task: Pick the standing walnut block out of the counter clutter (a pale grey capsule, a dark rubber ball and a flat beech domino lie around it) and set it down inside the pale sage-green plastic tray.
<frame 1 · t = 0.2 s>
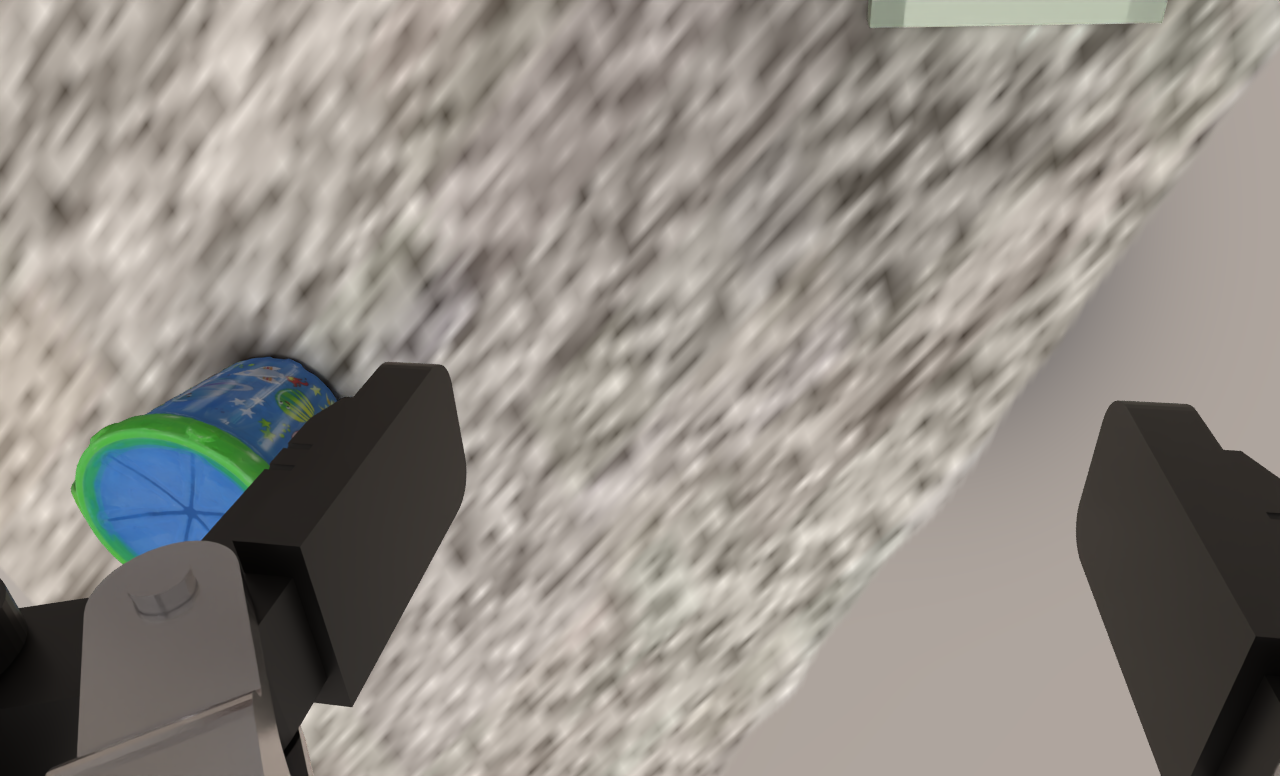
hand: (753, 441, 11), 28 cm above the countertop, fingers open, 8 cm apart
snack cup: (291, 407, 49), on the countertop
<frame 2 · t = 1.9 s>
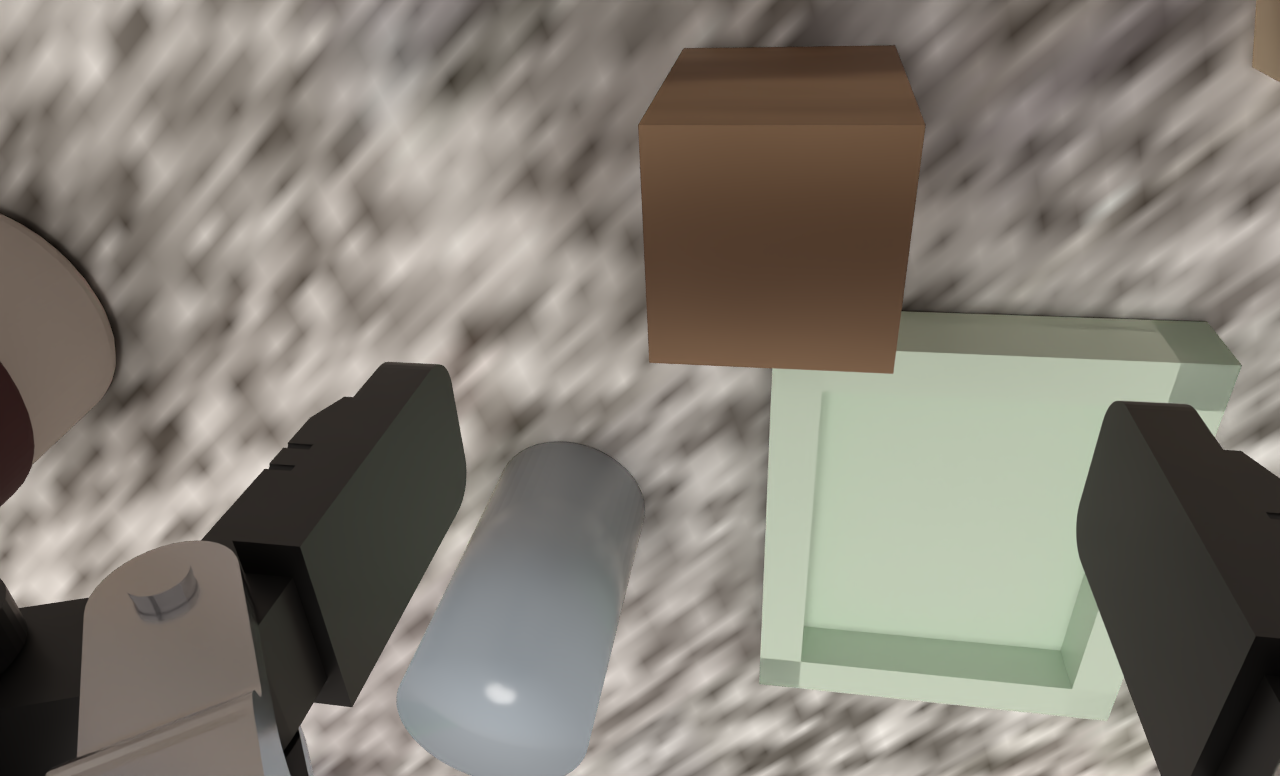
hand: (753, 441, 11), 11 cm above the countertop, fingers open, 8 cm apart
coffee cup: (15, 306, 27), on the countertop
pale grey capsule: (571, 502, 27), on the countertop
walnut block: (782, 149, 20), on the countertop
sage tray: (947, 503, 24), on the countertop
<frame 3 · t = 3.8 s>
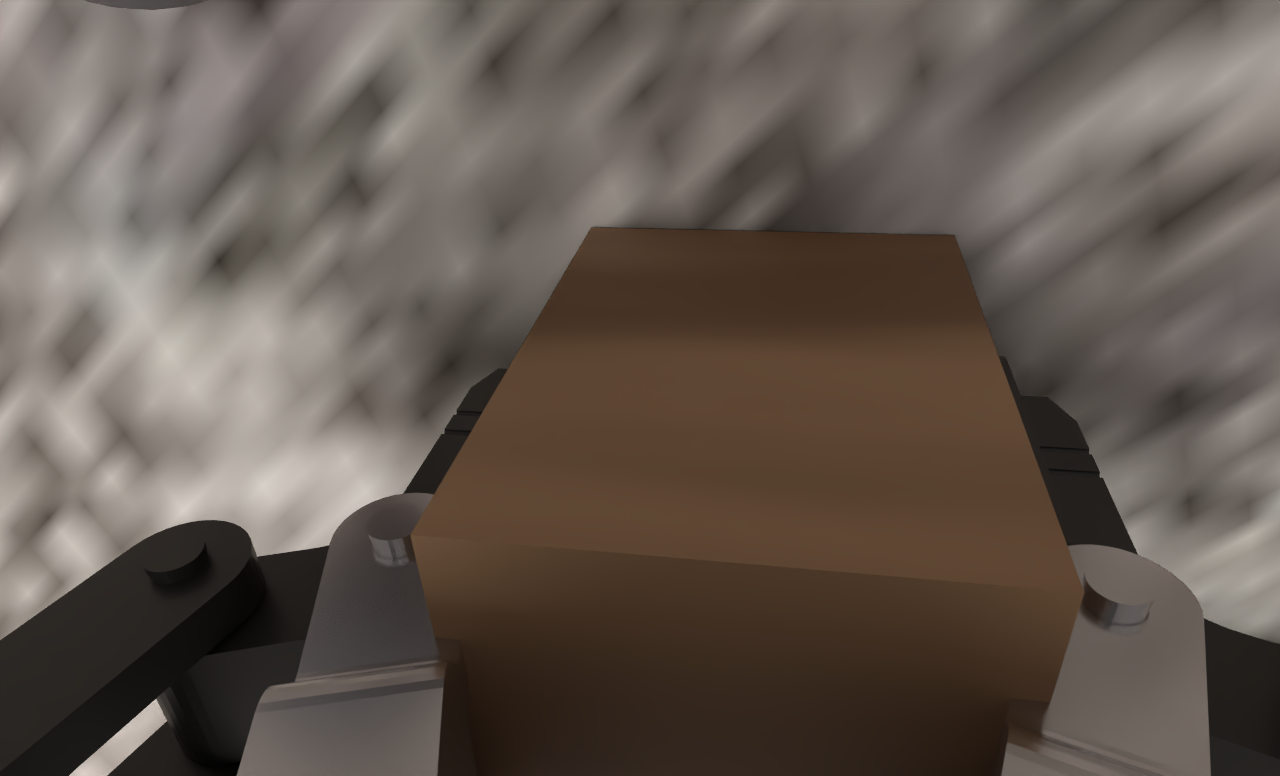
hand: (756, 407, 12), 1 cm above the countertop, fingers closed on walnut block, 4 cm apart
walnut block: (761, 384, 12), on the countertop, touching gripper
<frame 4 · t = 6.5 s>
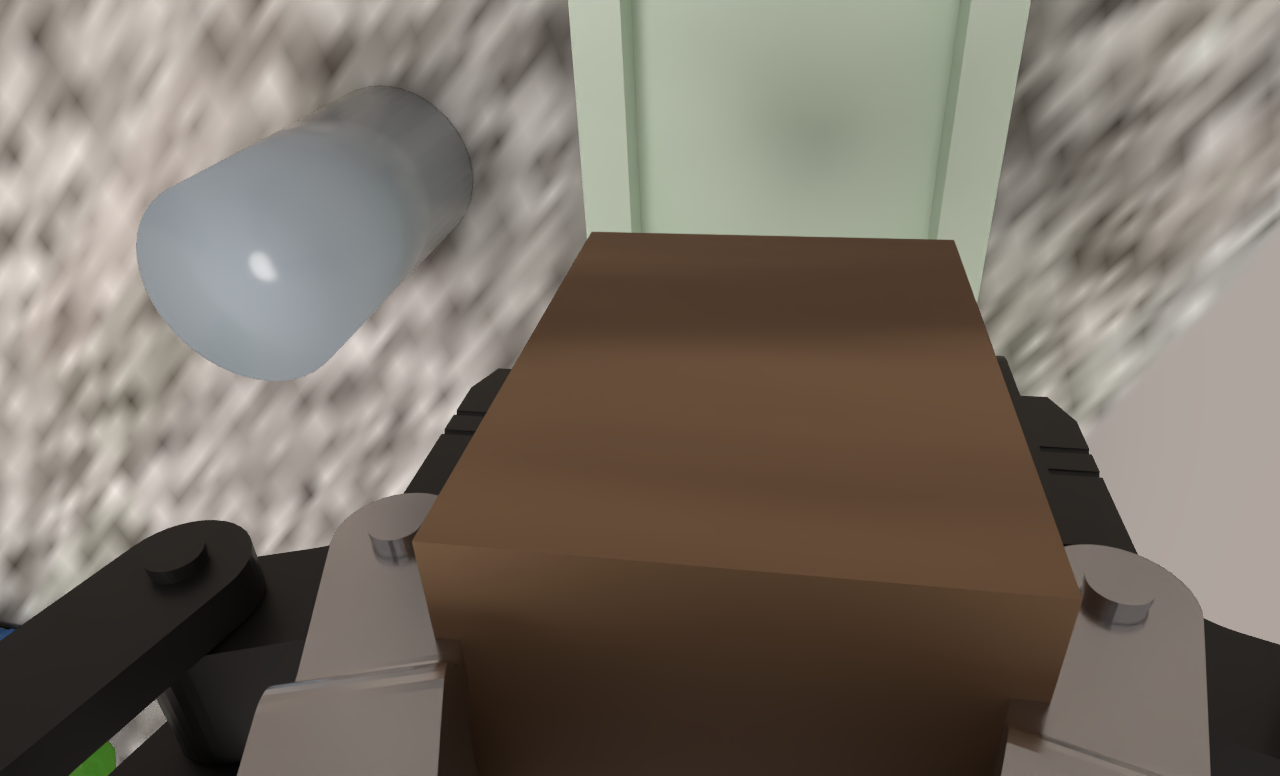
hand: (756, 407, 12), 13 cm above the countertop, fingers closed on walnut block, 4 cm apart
snack cup: (31, 669, 42), on the countertop
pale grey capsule: (395, 168, 25), on the countertop
walnut block: (761, 388, 12), point 12 cm above the countertop, touching gripper
sage tray: (785, 135, 22), on the countertop
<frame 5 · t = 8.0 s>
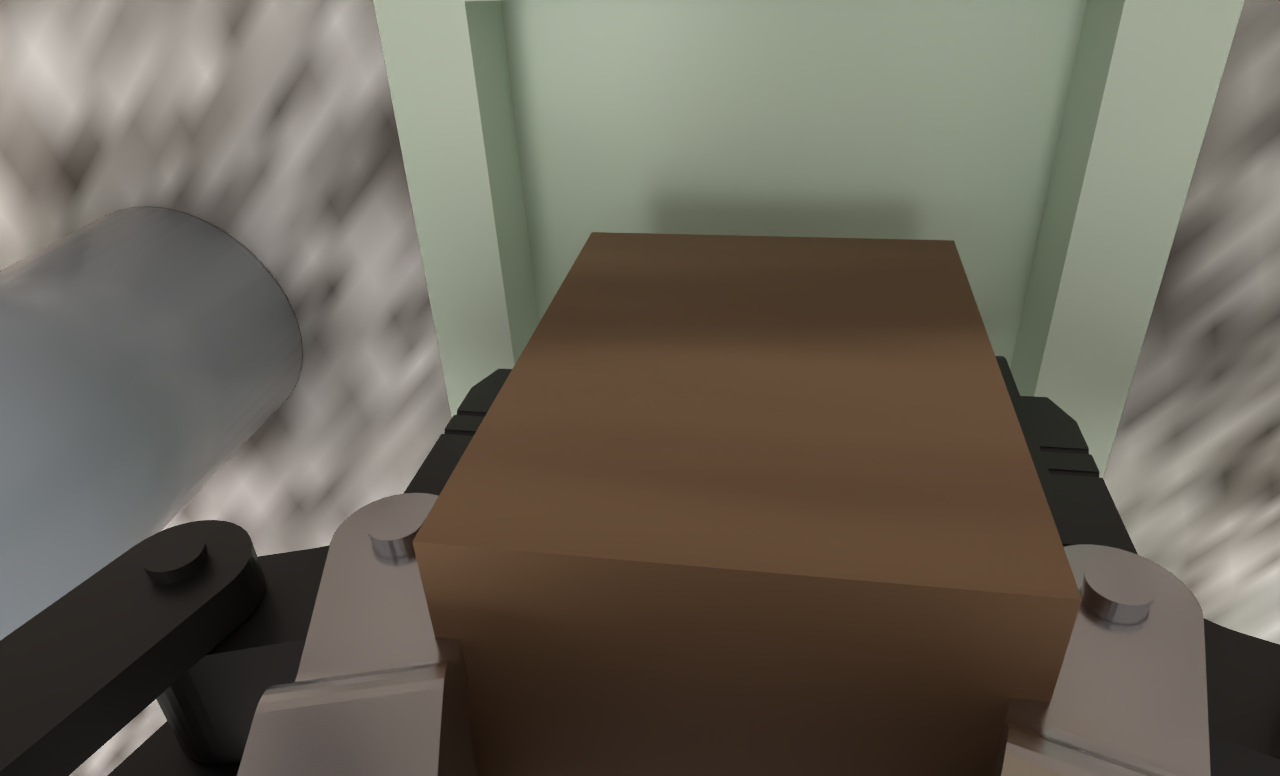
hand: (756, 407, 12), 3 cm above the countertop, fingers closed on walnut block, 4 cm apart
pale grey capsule: (188, 321, 17), on the countertop
walnut block: (761, 388, 12), point 3 cm above the countertop, touching gripper
sage tray: (768, 294, 14), on the countertop
when the fingers open (2 cm above the countertop, at t = 9.1 s): walnut block drops 1 cm, resting on sage tray.
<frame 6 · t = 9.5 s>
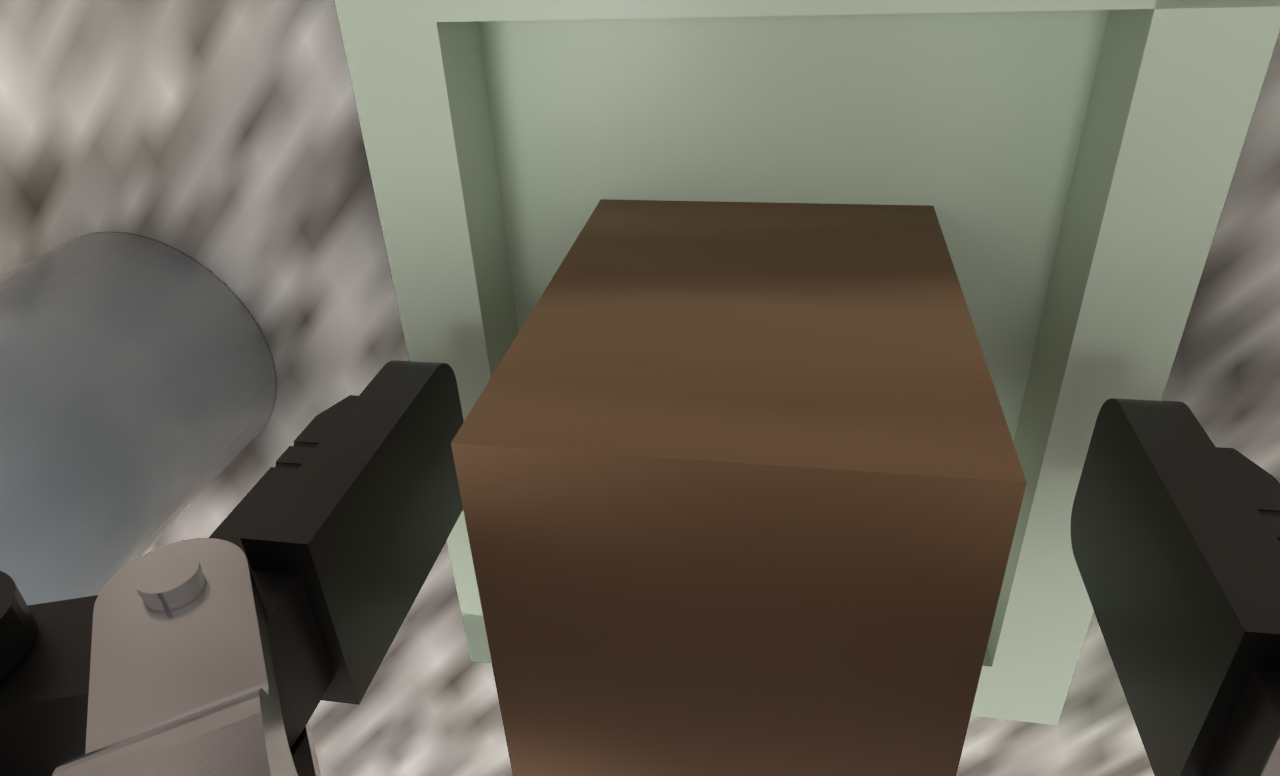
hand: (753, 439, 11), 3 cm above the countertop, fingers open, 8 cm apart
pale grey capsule: (156, 351, 16), on the countertop
walnut block: (756, 347, 13), point 1 cm above the countertop, touching sage tray
sage tray: (765, 327, 13), on the countertop
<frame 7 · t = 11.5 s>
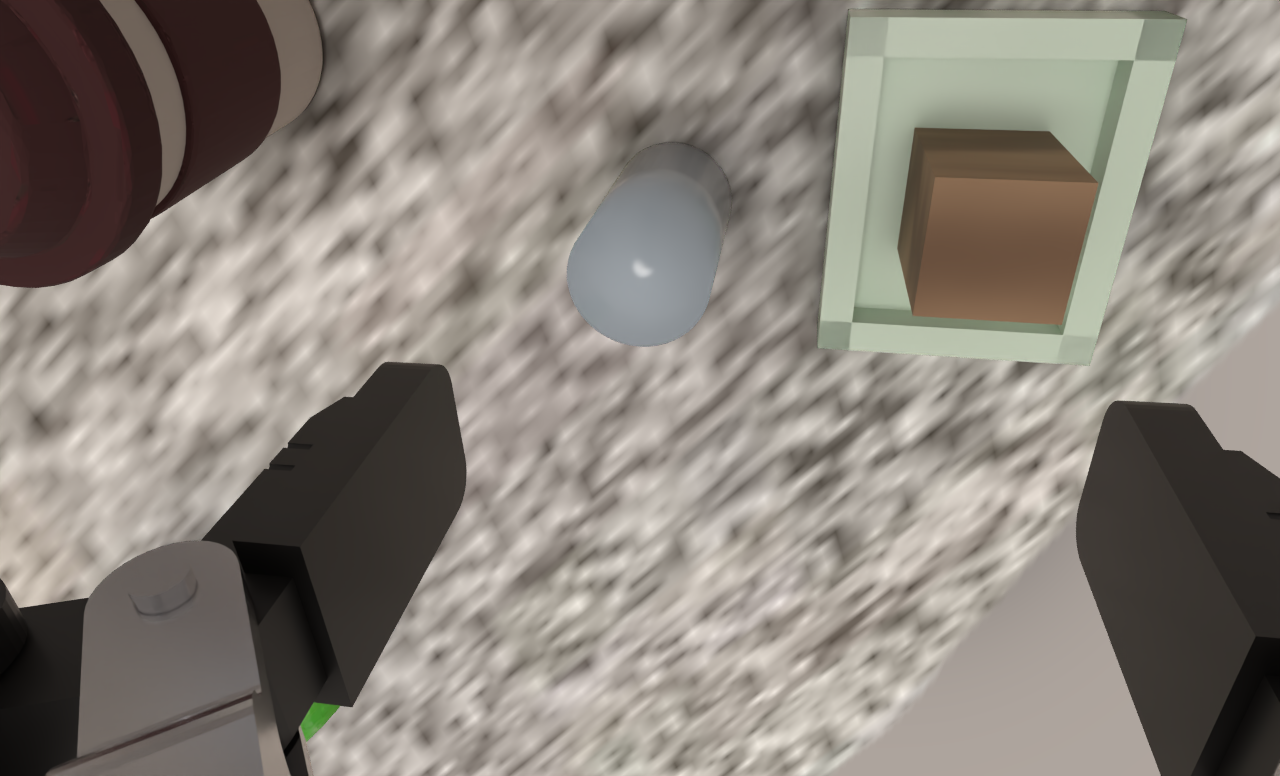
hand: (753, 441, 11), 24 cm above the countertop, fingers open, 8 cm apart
snack cup: (263, 600, 50), on the countertop
coffee cup: (242, 32, 34), on the countertop
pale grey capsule: (673, 201, 34), on the countertop
walnut block: (969, 192, 31), point 1 cm above the countertop, touching sage tray
sage tray: (970, 187, 32), on the countertop
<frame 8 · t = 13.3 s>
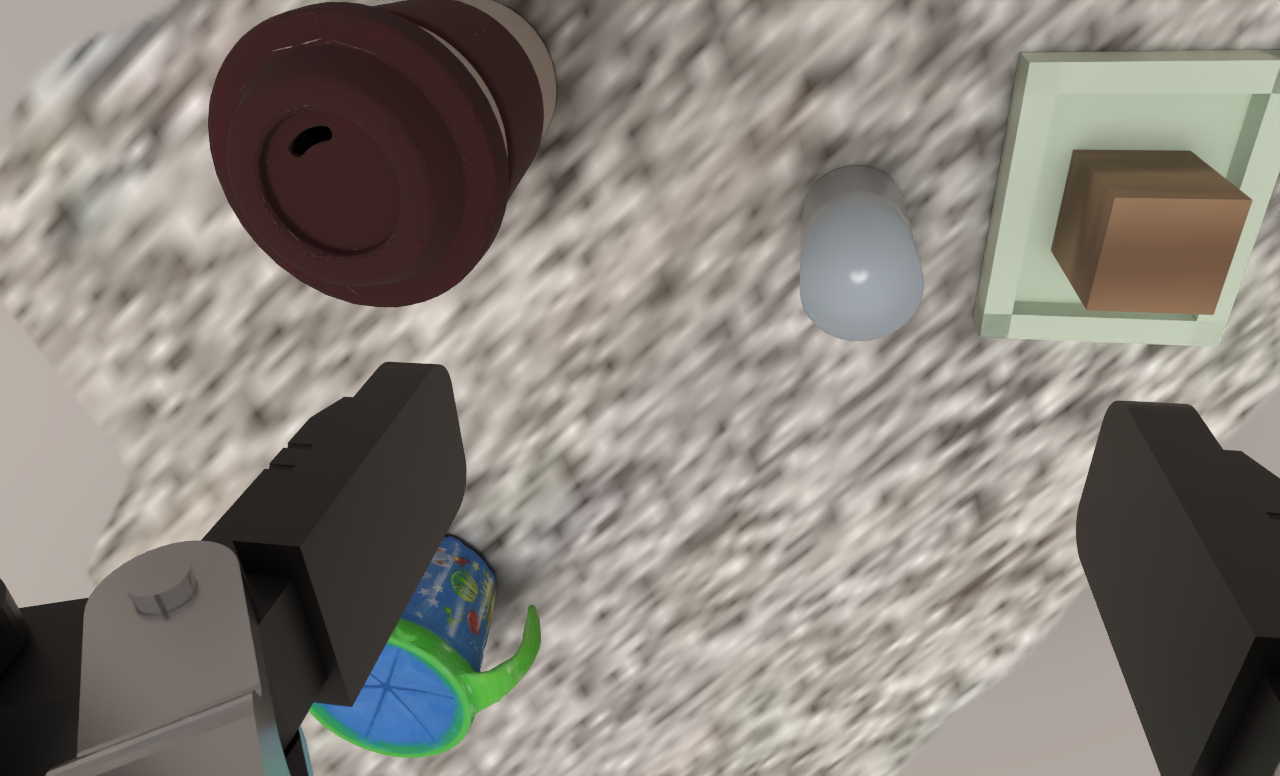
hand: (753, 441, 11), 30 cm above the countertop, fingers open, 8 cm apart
snack cup: (445, 570, 57), on the countertop
coffee cup: (483, 80, 40), on the countertop
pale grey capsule: (853, 214, 40), on the countertop
walnut block: (1117, 202, 37), point 1 cm above the countertop, touching sage tray
sage tray: (1116, 197, 37), on the countertop
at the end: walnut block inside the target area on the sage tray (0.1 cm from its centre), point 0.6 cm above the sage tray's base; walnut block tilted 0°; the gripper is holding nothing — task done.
